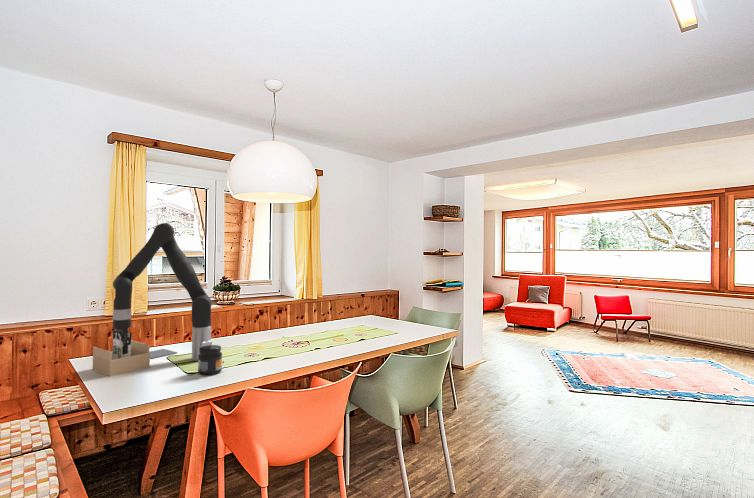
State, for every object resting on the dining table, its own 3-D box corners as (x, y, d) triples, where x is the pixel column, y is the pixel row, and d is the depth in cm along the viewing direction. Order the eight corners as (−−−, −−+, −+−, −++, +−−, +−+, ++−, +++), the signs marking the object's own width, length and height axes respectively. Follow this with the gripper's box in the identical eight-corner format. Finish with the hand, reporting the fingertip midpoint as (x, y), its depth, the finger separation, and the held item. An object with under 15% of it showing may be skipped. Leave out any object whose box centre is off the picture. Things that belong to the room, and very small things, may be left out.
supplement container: (226, 370, 192) (226, 345, 192) (213, 376, 182) (213, 350, 182) (206, 368, 194) (207, 344, 194) (192, 375, 184) (193, 349, 184)
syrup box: (111, 369, 192) (112, 339, 192) (124, 366, 198) (124, 336, 198) (118, 370, 190) (118, 340, 190) (131, 367, 195) (131, 337, 195)
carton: (149, 367, 196) (149, 344, 196) (110, 376, 181) (110, 352, 181) (131, 361, 206) (131, 340, 206) (92, 369, 191) (92, 346, 191)
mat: (177, 353, 222) (177, 352, 222) (151, 358, 211) (151, 357, 211) (163, 349, 230) (163, 348, 230) (138, 355, 218) (138, 353, 218)
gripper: (137, 318, 193) (137, 353, 193) (123, 315, 201) (122, 349, 201) (120, 320, 187) (120, 356, 187) (106, 317, 194) (106, 352, 194)
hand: (121, 352), depth 194 cm, fingers closed on syrup box, 6 cm apart
